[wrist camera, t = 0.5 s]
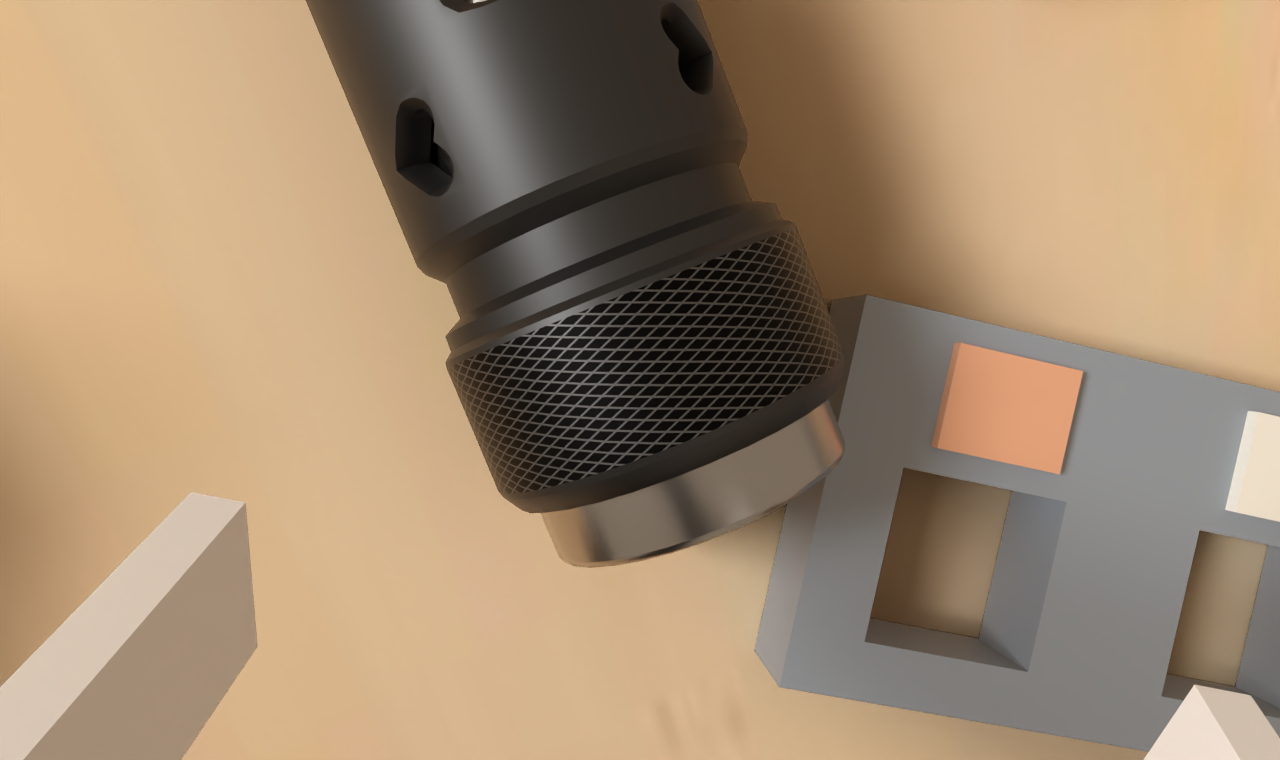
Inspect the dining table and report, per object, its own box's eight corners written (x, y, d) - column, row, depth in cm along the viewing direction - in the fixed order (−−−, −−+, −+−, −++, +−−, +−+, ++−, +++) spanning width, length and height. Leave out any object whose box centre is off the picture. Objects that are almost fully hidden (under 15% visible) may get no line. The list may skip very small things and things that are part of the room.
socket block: (1280, 745, 31) (1371, 795, 27) (754, 650, 28) (782, 692, 25) (1355, 422, 30) (1457, 432, 27) (832, 299, 28) (871, 293, 25)
